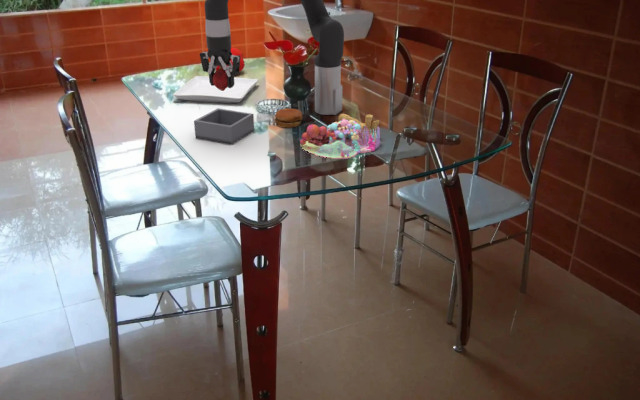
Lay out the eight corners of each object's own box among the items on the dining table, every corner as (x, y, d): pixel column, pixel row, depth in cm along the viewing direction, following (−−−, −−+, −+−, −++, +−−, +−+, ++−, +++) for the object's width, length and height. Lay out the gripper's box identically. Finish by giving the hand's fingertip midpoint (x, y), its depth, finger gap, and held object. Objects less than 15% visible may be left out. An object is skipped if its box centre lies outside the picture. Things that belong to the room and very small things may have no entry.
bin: (254, 130, 216) (253, 113, 213) (232, 144, 205) (230, 127, 202) (219, 124, 221) (217, 108, 219) (195, 138, 210) (193, 120, 207)
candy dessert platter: (322, 128, 220) (322, 102, 215) (388, 137, 212) (389, 110, 208) (292, 154, 199) (292, 126, 195) (365, 165, 191) (366, 136, 187)
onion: (228, 94, 203) (226, 69, 200) (210, 93, 204) (208, 68, 201) (233, 88, 208) (232, 64, 205) (217, 87, 209) (215, 63, 206)
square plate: (242, 107, 239) (241, 97, 238) (172, 103, 243) (171, 93, 242) (259, 86, 263) (259, 77, 262) (195, 83, 267) (195, 74, 265)
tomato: (219, 84, 275) (245, 79, 283) (226, 63, 266) (253, 59, 273) (206, 63, 280) (232, 59, 287) (212, 41, 270) (240, 38, 278)
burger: (287, 130, 217) (287, 117, 215) (269, 123, 223) (268, 110, 221) (308, 123, 223) (308, 110, 221) (290, 117, 229) (289, 104, 227)
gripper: (244, 33, 198) (247, 85, 206) (205, 28, 204) (209, 80, 211) (231, 37, 192) (235, 92, 200) (191, 33, 198) (196, 86, 205)
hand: (222, 86), depth 206 cm, fingers closed on onion, 6 cm apart
